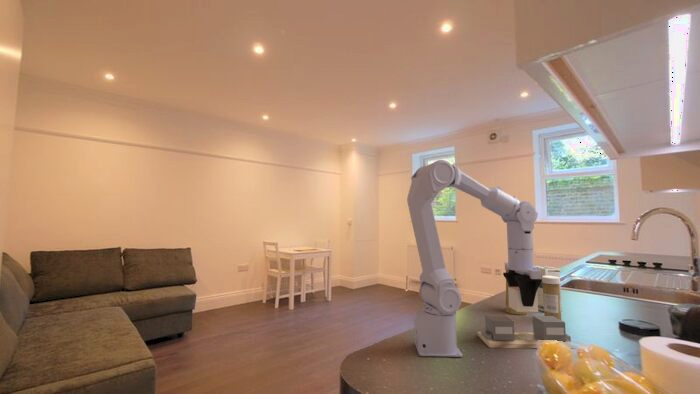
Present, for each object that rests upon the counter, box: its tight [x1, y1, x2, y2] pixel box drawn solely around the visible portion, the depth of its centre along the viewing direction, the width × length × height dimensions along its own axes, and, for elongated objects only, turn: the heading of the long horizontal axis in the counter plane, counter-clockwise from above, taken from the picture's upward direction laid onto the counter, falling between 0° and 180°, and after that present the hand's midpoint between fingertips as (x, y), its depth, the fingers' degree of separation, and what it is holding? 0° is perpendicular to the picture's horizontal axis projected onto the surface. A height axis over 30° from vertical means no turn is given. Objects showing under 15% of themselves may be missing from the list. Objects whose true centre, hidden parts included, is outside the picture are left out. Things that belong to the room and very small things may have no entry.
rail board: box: [477, 314, 574, 349], centre depth 77 cm, size 20×8×6 cm, turn 87°
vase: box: [505, 270, 528, 316], centre depth 103 cm, size 6×6×14 cm
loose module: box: [508, 287, 539, 313], centre depth 78 cm, size 5×4×5 cm
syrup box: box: [536, 265, 563, 313], centre depth 105 cm, size 6×6×14 cm
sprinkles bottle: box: [542, 276, 562, 320], centre depth 93 cm, size 5×5×14 cm
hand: (522, 303), depth 78 cm, fingers closed on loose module, 4 cm apart
